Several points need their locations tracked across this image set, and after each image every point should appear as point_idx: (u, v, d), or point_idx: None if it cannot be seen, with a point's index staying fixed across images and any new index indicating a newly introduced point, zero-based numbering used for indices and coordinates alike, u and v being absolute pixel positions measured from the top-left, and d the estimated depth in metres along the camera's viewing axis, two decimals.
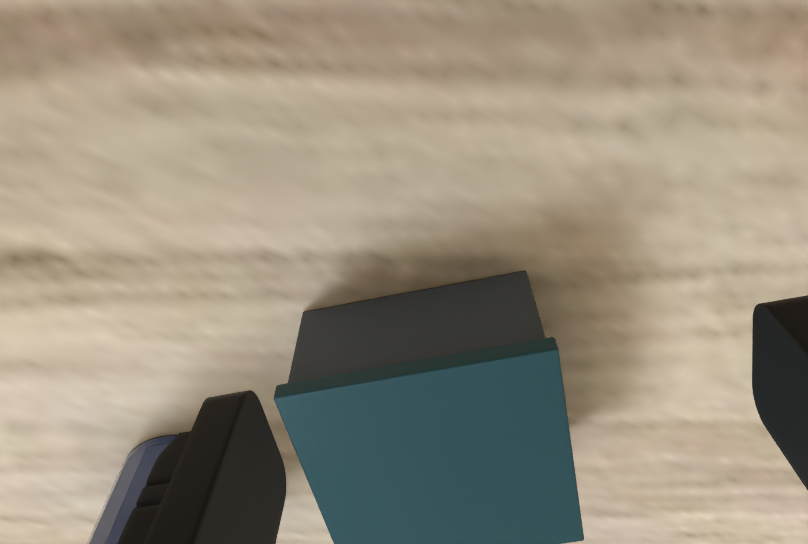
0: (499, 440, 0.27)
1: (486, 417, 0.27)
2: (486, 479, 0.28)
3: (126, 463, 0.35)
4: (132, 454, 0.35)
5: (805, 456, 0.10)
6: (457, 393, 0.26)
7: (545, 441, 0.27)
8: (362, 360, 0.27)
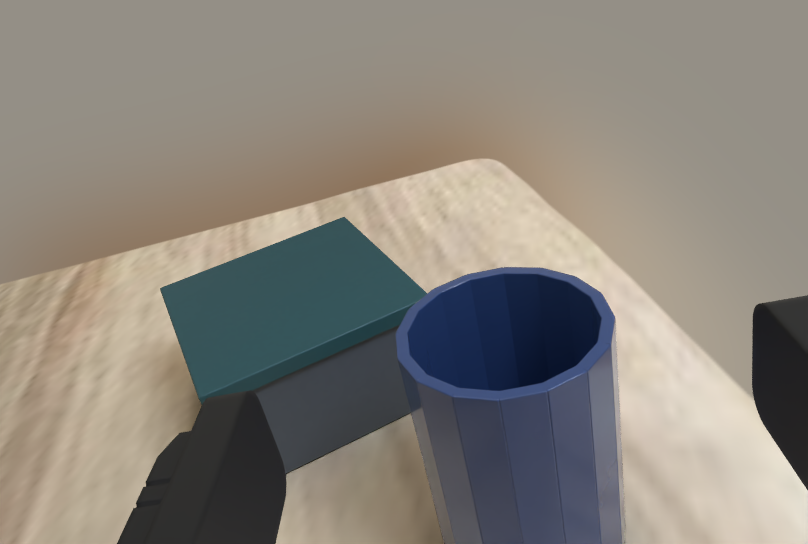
0: (243, 280, 0.36)
1: (220, 292, 0.35)
2: (285, 271, 0.36)
3: None
4: None
5: (805, 456, 0.10)
6: (196, 311, 0.34)
7: (243, 263, 0.37)
8: None
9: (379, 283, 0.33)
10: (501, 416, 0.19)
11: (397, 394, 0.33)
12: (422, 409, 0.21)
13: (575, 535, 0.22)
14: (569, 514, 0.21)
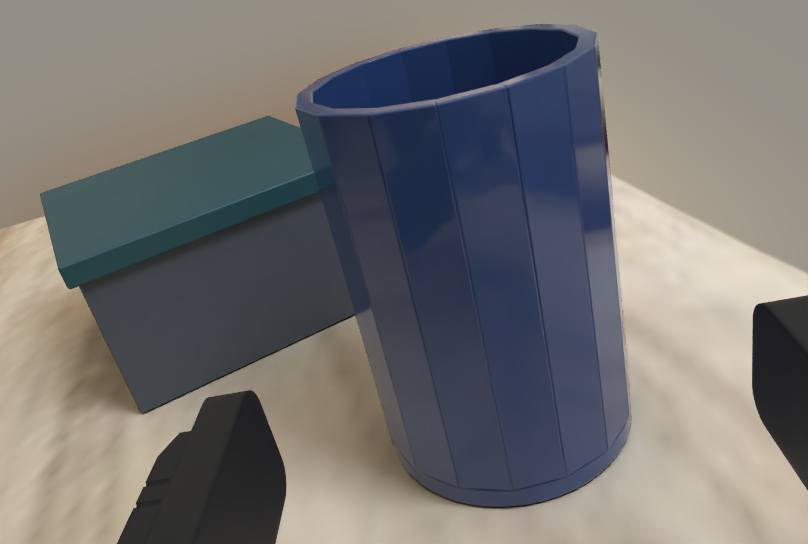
0: (140, 173, 0.29)
1: (110, 185, 0.28)
2: (192, 160, 0.29)
3: (453, 473, 0.17)
4: (452, 487, 0.17)
5: (805, 456, 0.10)
6: (77, 203, 0.27)
7: (144, 162, 0.31)
8: None
9: (303, 152, 0.27)
10: (441, 137, 0.13)
11: (331, 289, 0.26)
12: (332, 169, 0.14)
13: (564, 359, 0.15)
14: (553, 321, 0.15)
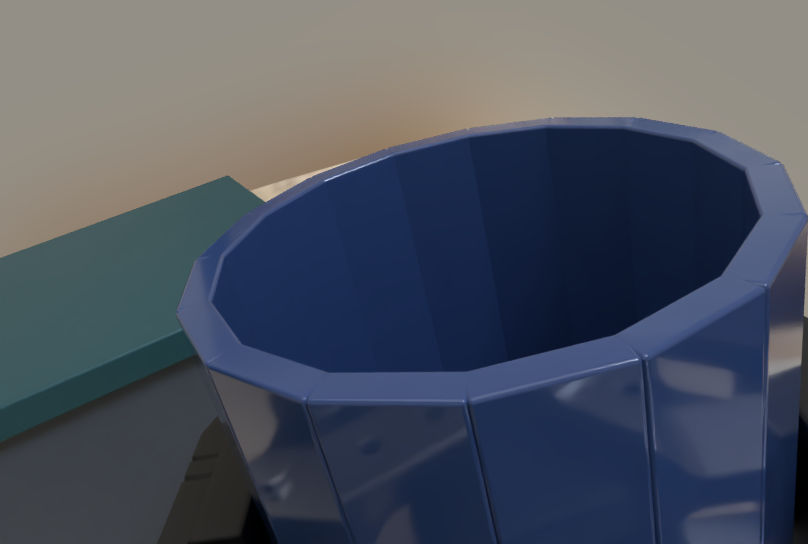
0: (46, 265, 0.22)
1: (3, 285, 0.21)
2: (116, 248, 0.22)
3: None
4: None
5: None
6: None
7: (58, 245, 0.23)
8: None
9: None
10: (478, 465, 0.05)
11: None
12: (242, 456, 0.07)
13: None
14: None
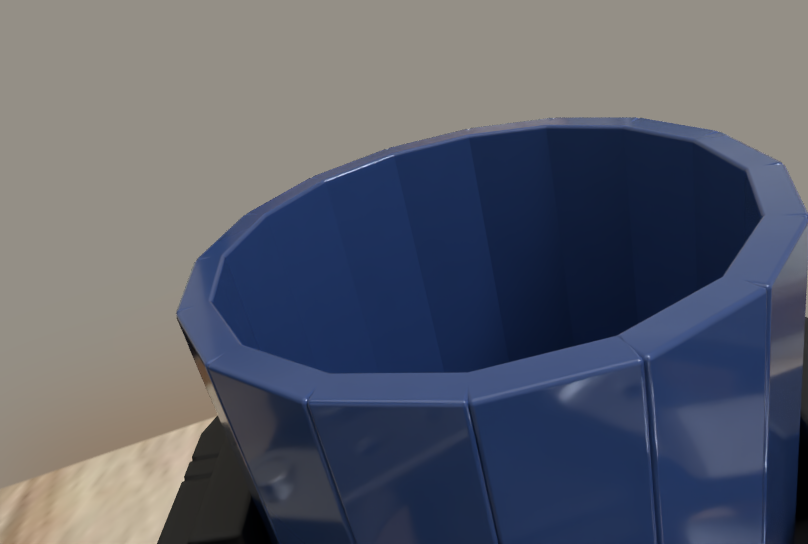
0: None
1: None
2: None
3: None
4: None
5: None
6: None
7: None
8: None
9: None
10: (479, 465, 0.05)
11: None
12: (243, 457, 0.07)
13: None
14: None
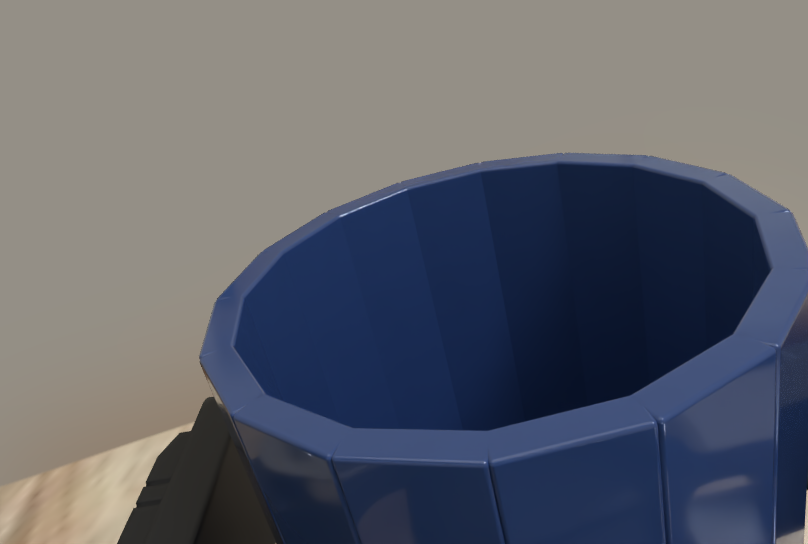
0: None
1: None
2: None
3: None
4: None
5: None
6: None
7: None
8: None
9: None
10: (498, 520, 0.06)
11: None
12: (265, 501, 0.07)
13: None
14: None
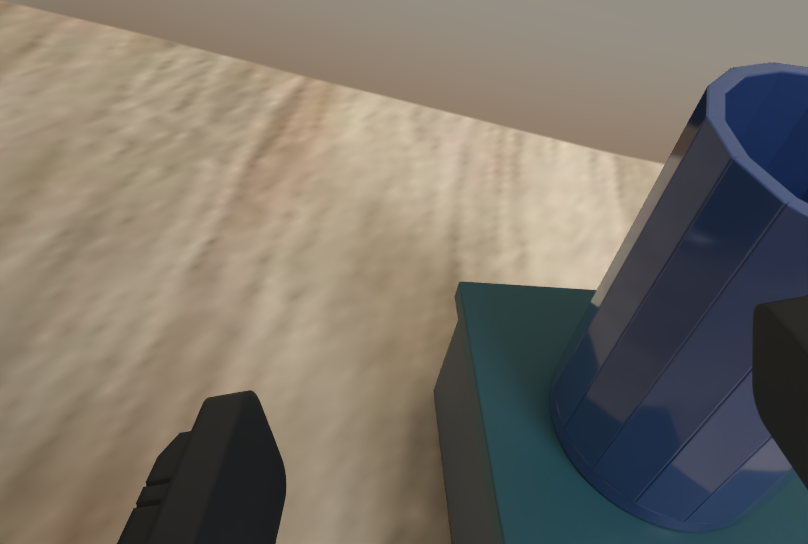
0: None
1: (552, 356, 0.22)
2: None
3: (594, 458, 0.19)
4: (585, 463, 0.19)
5: (805, 456, 0.10)
6: (514, 376, 0.21)
7: None
8: (487, 512, 0.20)
9: None
10: None
11: None
12: (701, 202, 0.14)
13: (763, 461, 0.16)
14: None
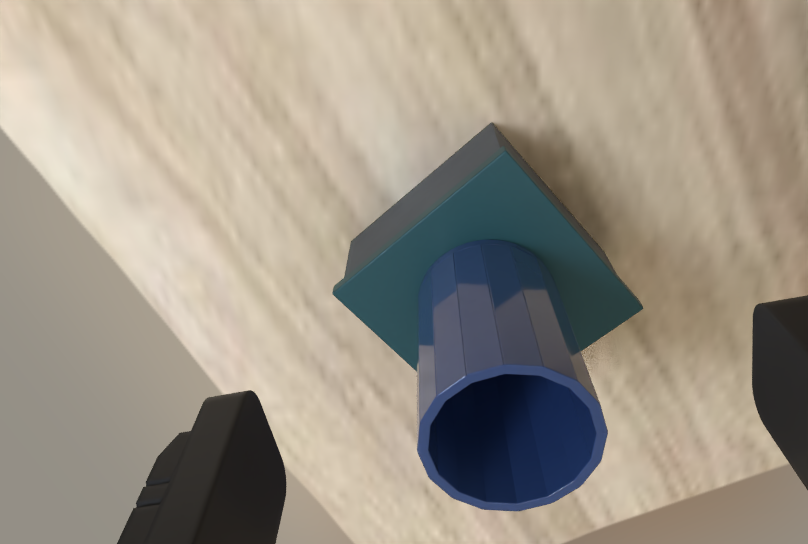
0: None
1: (562, 300, 0.34)
2: None
3: (513, 250, 0.31)
4: (514, 247, 0.32)
5: (805, 456, 0.10)
6: (575, 271, 0.33)
7: None
8: None
9: (389, 311, 0.34)
10: (502, 354, 0.24)
11: (379, 226, 0.37)
12: (572, 362, 0.25)
13: (449, 291, 0.29)
14: (453, 302, 0.28)
